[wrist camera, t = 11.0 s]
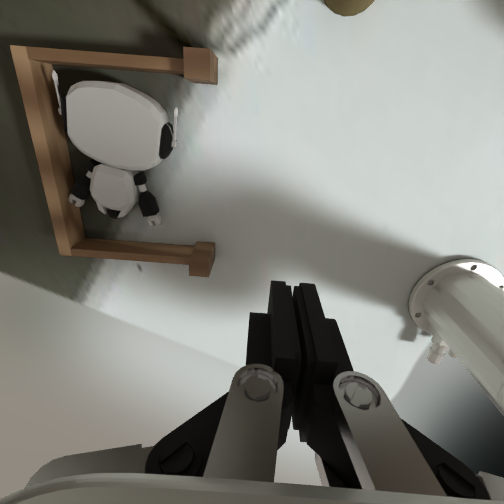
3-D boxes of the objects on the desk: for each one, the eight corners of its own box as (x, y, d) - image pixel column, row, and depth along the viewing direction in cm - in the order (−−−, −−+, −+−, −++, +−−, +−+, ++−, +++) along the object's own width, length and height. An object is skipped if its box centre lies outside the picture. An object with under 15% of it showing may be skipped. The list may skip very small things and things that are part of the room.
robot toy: (170, 221, 39) (188, 100, 32) (159, 236, 35) (176, 102, 28) (78, 197, 38) (74, 66, 31) (56, 209, 34) (46, 63, 27)
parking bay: (214, 258, 40) (208, 277, 36) (76, 248, 40) (53, 265, 36) (217, 58, 30) (210, 48, 26) (33, 44, 30) (-6, 31, 26)
